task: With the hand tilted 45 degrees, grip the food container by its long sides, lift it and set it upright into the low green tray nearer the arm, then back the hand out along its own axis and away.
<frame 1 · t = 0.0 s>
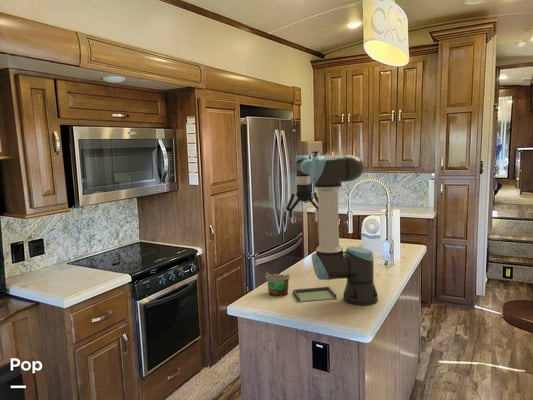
hand: (304, 222, 228), 28 cm above the countertop, tool pointing down, fingers open, 13 cm apart
green tray: (314, 296, 191), on the countertop
food container: (276, 295, 194), on the countertop
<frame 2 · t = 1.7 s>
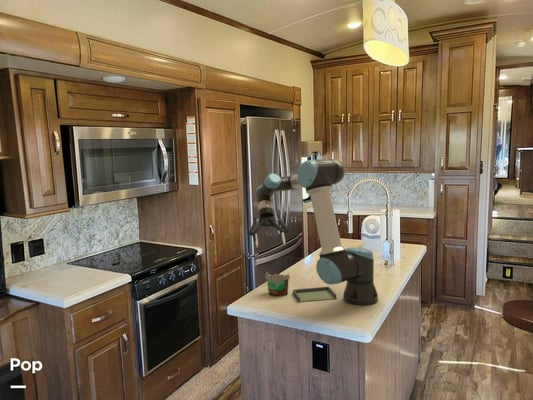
hand: (270, 245, 203), 22 cm above the countertop, tool tilted 45°, fingers open, 13 cm apart
nothing on the countertop moved.
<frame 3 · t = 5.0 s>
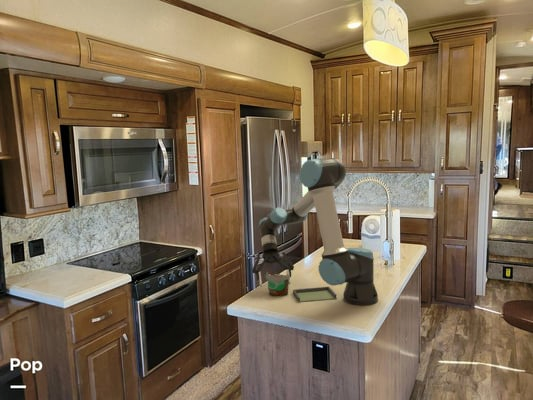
hand: (275, 284, 193), 6 cm above the countertop, tool tilted 45°, fingers open, 13 cm apart
nothing on the countertop moved.
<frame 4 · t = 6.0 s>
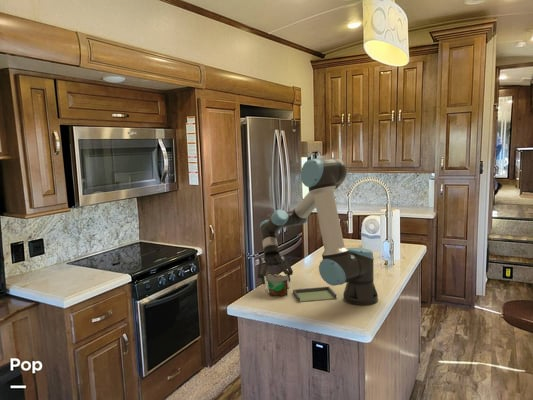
hand: (277, 289, 191), 4 cm above the countertop, tool tilted 45°, fingers closed on food container, 10 cm apart
food container: (275, 295, 194), on the countertop, touching gripper
everything else where it was.
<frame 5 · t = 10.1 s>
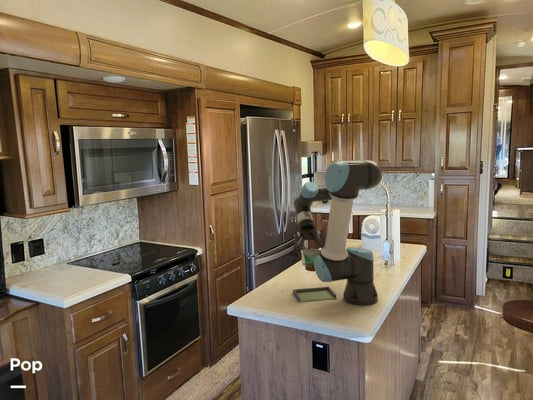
hand: (315, 263, 185), 17 cm above the countertop, tool tilted 45°, fingers closed on food container, 9 cm apart
food container: (311, 270, 189), point 13 cm above the countertop, touching gripper
everything else where it was.
when the fingers open (6 cm above the countertop, at t = 13.0 s): food container drops 1 cm, resting on green tray.
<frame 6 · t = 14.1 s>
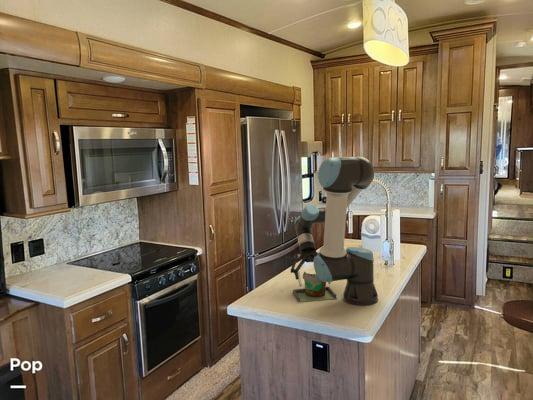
hand: (315, 284, 187), 7 cm above the countertop, tool tilted 45°, fingers open, 13 cm apart
food container: (312, 296, 190), resting on green tray
everything else where it was.
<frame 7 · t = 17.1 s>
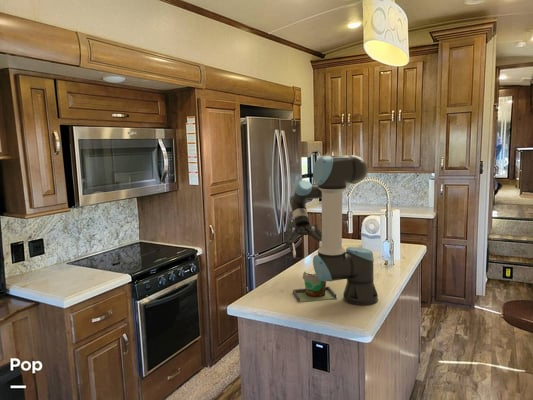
hand: (309, 255, 196), 18 cm above the countertop, tool tilted 45°, fingers open, 13 cm apart
nothing on the countertop moved.
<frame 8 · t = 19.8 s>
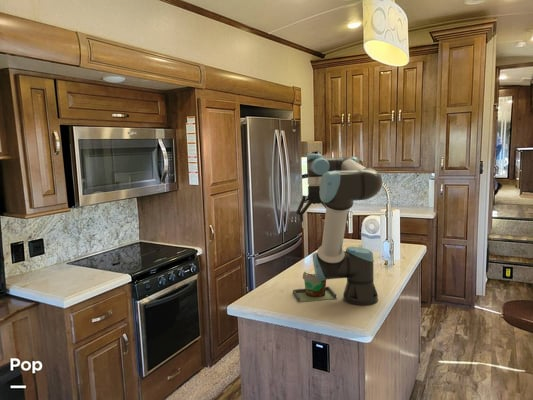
hand: (316, 227, 207), 29 cm above the countertop, tool pointing down, fingers open, 13 cm apart
nothing on the countertop moved.
at the end: food container 0.7 cm off-centre on the green tray, point 0.3 cm above the green tray's base; food container tilted 0°; the gripper is holding nothing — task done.
